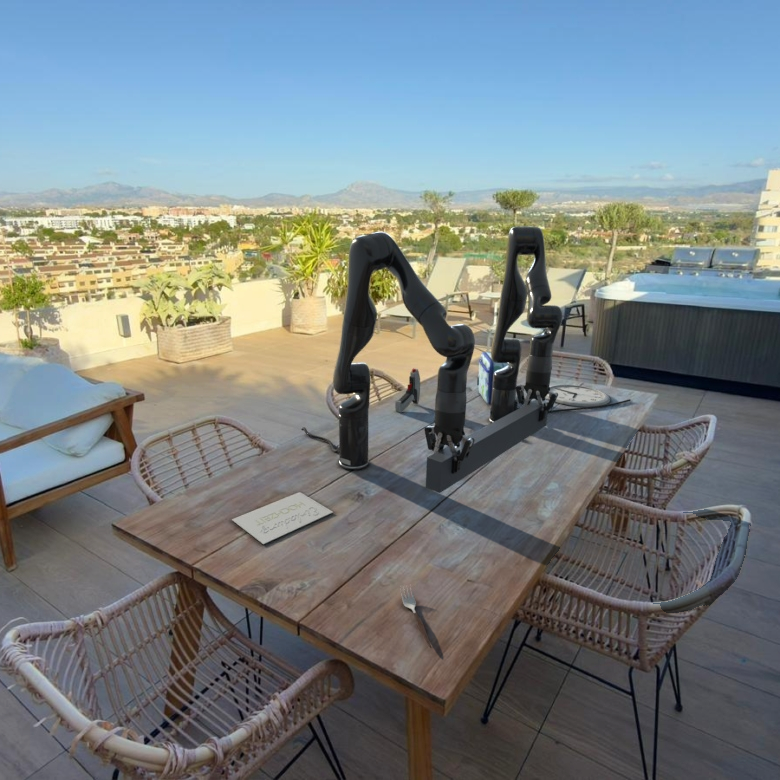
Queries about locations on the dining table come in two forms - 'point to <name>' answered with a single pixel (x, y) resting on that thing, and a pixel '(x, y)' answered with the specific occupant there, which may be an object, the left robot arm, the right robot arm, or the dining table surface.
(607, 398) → the wall clock
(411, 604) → the fork
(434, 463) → the bar
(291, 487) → the dining table surface
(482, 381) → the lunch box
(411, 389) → the toy gun
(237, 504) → the dining table surface
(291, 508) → the invitation card
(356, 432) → the left robot arm
